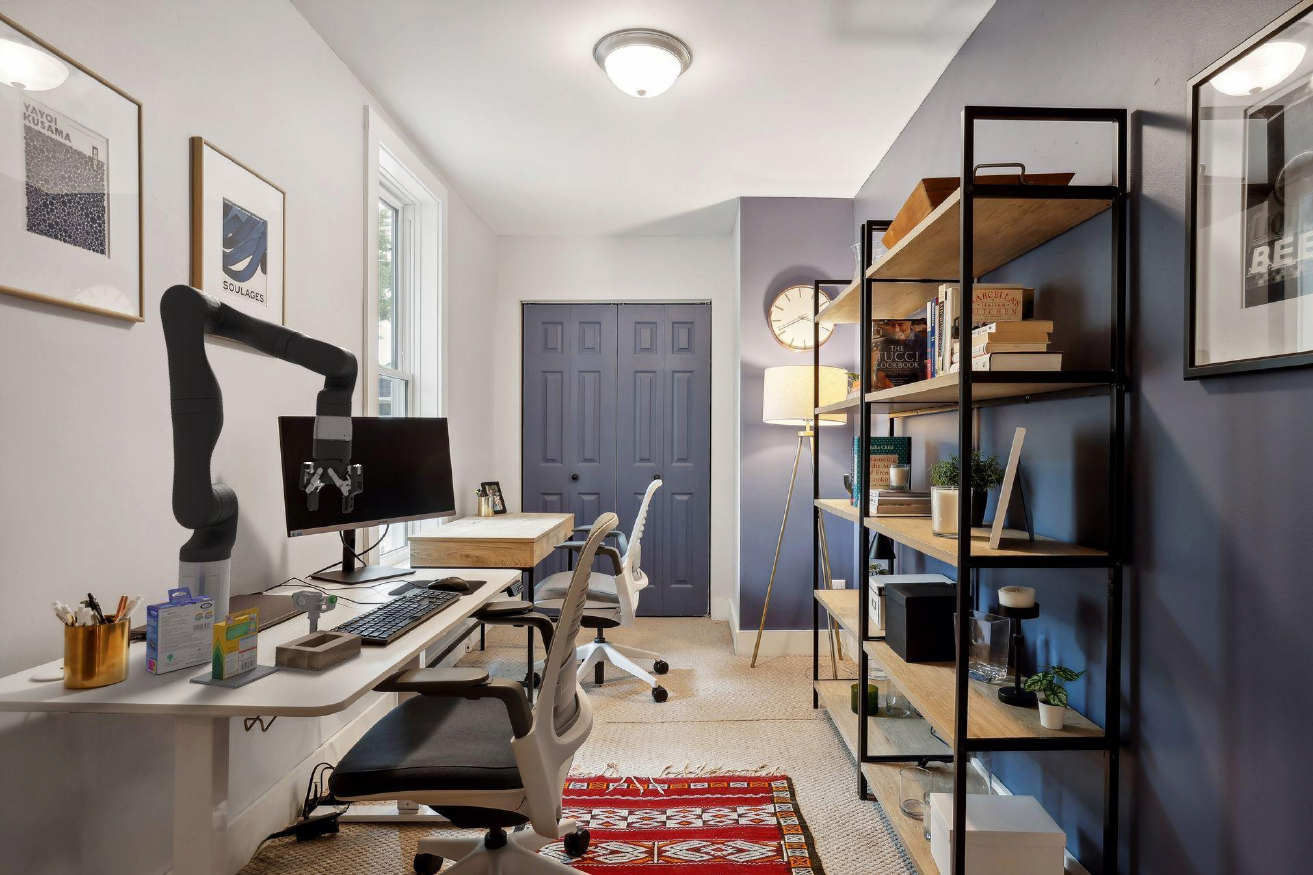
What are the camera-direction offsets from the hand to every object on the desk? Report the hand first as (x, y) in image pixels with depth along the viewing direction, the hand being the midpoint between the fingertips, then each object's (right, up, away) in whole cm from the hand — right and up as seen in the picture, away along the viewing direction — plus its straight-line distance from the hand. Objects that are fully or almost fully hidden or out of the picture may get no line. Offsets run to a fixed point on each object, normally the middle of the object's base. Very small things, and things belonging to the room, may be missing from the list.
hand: (329, 511), depth 146 cm
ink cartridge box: (-20, -28, -18) cm, 39 cm away
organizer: (+3, -28, -11) cm, 31 cm away
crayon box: (-7, -28, -22) cm, 36 cm away
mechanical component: (-4, -28, +1) cm, 28 cm away
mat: (-6, -28, -22) cm, 36 cm away
